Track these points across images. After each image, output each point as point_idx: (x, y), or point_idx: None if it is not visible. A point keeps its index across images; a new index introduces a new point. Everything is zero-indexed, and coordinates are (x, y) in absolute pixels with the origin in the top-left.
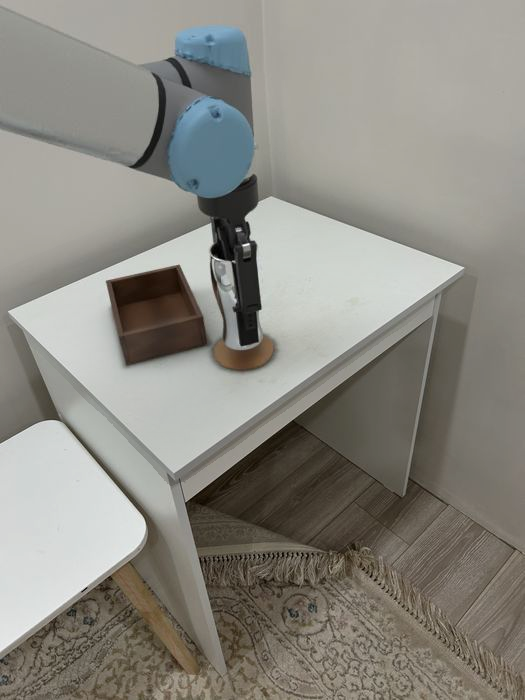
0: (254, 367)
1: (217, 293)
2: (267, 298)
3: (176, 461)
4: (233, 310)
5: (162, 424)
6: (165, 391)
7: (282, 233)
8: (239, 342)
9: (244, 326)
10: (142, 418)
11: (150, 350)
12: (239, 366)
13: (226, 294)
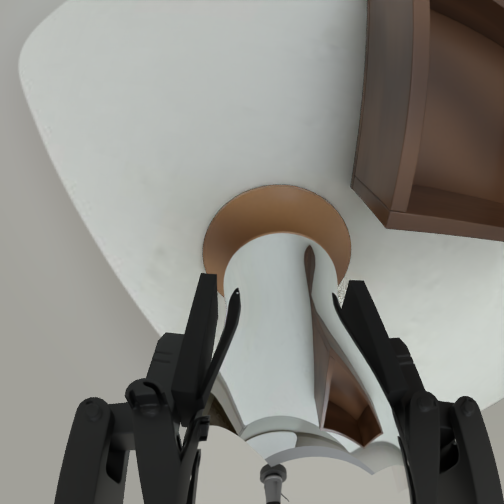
0: (203, 257)
1: (260, 405)
2: (405, 342)
3: (22, 52)
4: (151, 382)
5: (106, 18)
6: (212, 29)
7: (492, 381)
8: (212, 278)
9: (172, 340)
10: None
11: (376, 32)
12: (216, 229)
13: (204, 431)
